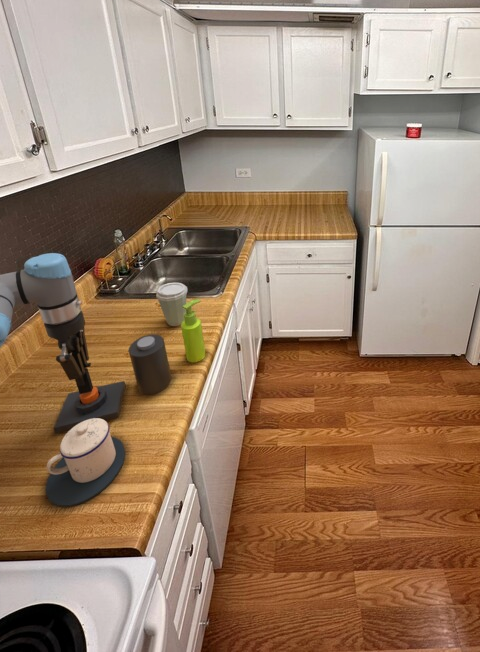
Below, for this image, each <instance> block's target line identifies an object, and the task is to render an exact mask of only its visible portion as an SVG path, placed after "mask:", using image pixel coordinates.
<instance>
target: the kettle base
mask: <svg viewBox="0 0 480 652" xmlns="http://www.w3.org/2000/svg"><path fill="white" fill-rule="evenodd" d="M95 387H96V388H97V389H98V393H99V397H98V398H97V399H96V400H95V401H94V402H92V403H90V404H82V402H81V399H80V393H79V390H78V391H73V392H69V393H67V395H66V398H65V401H64V403H63V405H62V408H61V410H60V412H59V414H58V417H57V419H56V421H55V424H54V426H53V430H54V433H55V434H59V433H64V432H69V431H70V430H71V429H72V428H73V427H74V426H76V425H77V424H79V423H81V422H83V421H85V420H88V419H92V418H100V419H103V420H105V421H106V422H108V421H110V420H114V419H119V417H120V413H121V408H122V405H123V400H124V397H125V391H126V387H127V385H126V381H125V380H122V381H117V382H112V383H109V384H104V385H99V386H95Z"/></svg>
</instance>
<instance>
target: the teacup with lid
mask: <svg viewBox="0 0 480 652" xmlns="http://www.w3.org/2000/svg"><path fill="white" fill-rule="evenodd" d="M111 437H112V436H111V432H110V425H109V423H108V421H105V420H103V419H100V418H92V419H88V420H85V421H83V422H81V423H79V424H77V425H76V426H74V427H73V428H72V429H71V430H68V431H67V433H65V435H64V436H63V438H62V440H61V442H60V445H59V453H57V454H56V455H54V456H52V457H51V458H50V459H48V462H47V463H46V471H47V472H48V473H49V474H54V475H57V474H62V473H64V472H67V471H70V474H71V476H72V478H73V479H74V480H75V481H76V482H80V483H84V482H89V481H92V480H94V479H96V478H98V477H100V476H101V475H102V474H104V473H105V472H106V471H107V470H108V469H109V468H110V466H111V465H112V463H113V461H114V459H115V455H116V451H115V448H114V444H113V441H112V438H111ZM63 457H64V459H65V461H66V464H67V466H64V467H62V468H54V467H53V466H52V465H53V464H55V463H56V462H58V461H60V460H61V459H62V458H63Z"/></svg>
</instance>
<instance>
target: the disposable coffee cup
mask: <svg viewBox="0 0 480 652" xmlns="http://www.w3.org/2000/svg"><path fill="white" fill-rule="evenodd" d="M187 293H188V286H186V285H185V284H184V283H182V282H168V283H165V284H161V285H160V286H158V288H157V289H156V295H155V296H156V297H155V298H156V299H157V300H158V303H159V306H160V309H161V311H162V314H163V316H164V319H165V322H166V323H167V325H169V326H170V327H178V326H181V323H182V322H183V321H184V313H185V312H186V309H184V308H183V307H182V306H183V305H185V304H186V303H187V296H188V295H187Z"/></svg>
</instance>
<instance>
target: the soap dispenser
mask: <svg viewBox="0 0 480 652" xmlns="http://www.w3.org/2000/svg"><path fill="white" fill-rule="evenodd" d="M199 303H201V300H200V299H198V298H195V299H192V300H189V301H188V302H186V304H185V305H183V306H182V307H183V308H184V309H186V312H185V313H184V321H183V322H182V323H181V325H180V329H181V333H182V339H183V345H184V351H185V356H186V360H187V362H189V363H198V362H201V361H202V360H203V359H204V358H205V357H206V347H205V340H204V334H203V328H202V327H203V326H202V321H201V319H200V318H199V317H197V316H196V315H197V314H196V312H195V311H194V310H193V308H192V307H193V306H195V305H197V304H199Z"/></svg>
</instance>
